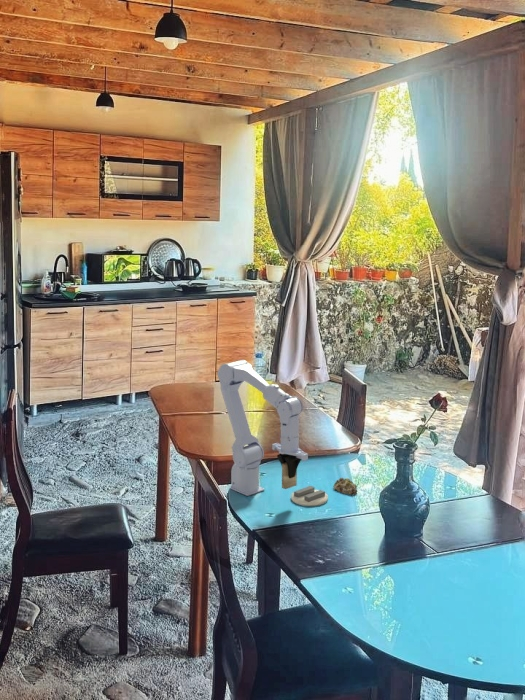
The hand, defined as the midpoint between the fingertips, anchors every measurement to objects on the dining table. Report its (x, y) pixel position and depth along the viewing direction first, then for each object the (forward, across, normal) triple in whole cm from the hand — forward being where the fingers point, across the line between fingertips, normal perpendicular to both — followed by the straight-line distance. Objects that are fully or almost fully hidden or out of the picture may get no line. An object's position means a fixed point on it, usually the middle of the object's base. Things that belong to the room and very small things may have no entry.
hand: (289, 476), depth 233 cm
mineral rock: (+10, +4, +23) cm, 25 cm away
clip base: (+9, +1, +8) cm, 12 cm away
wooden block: (+3, 0, 0) cm, 3 cm away
